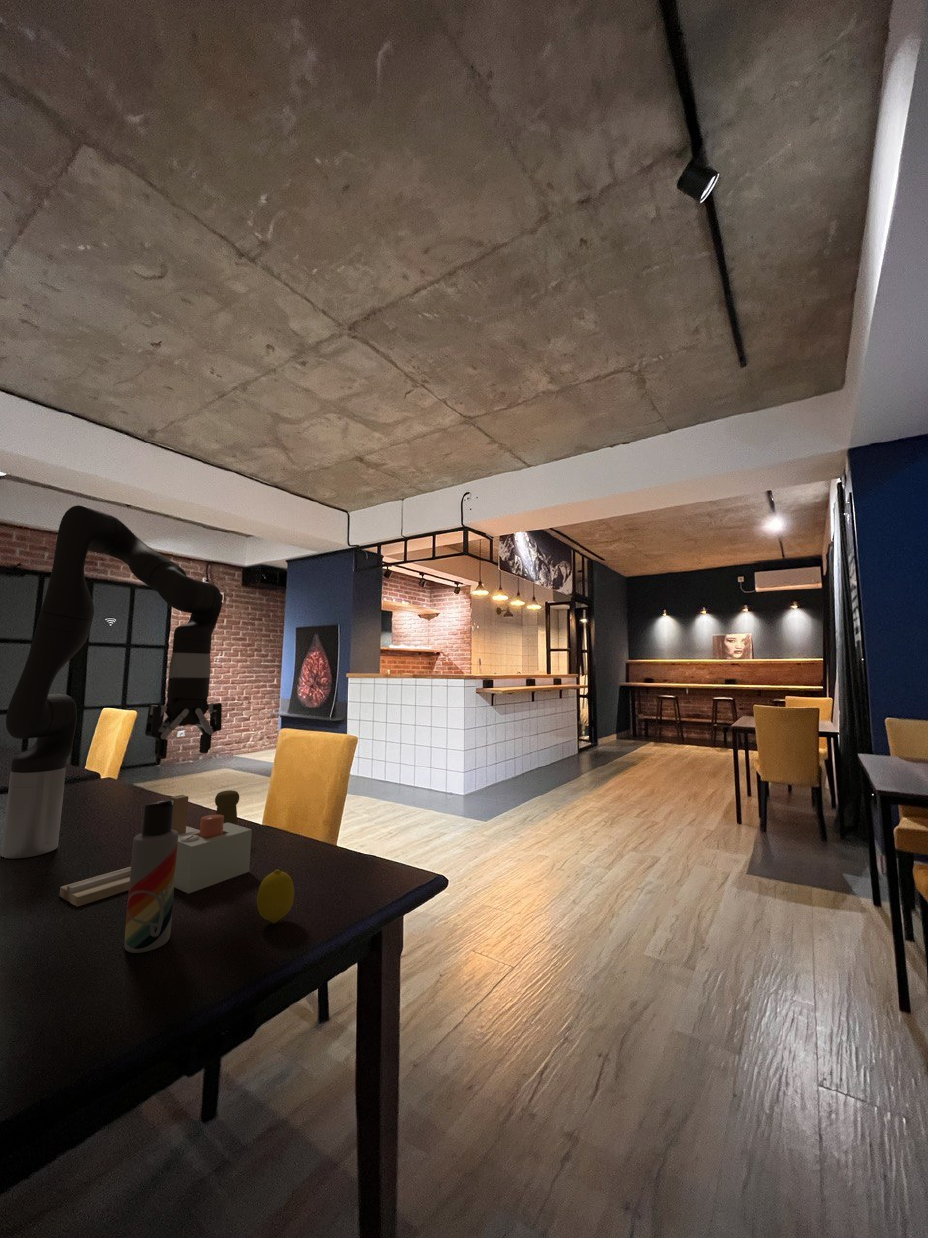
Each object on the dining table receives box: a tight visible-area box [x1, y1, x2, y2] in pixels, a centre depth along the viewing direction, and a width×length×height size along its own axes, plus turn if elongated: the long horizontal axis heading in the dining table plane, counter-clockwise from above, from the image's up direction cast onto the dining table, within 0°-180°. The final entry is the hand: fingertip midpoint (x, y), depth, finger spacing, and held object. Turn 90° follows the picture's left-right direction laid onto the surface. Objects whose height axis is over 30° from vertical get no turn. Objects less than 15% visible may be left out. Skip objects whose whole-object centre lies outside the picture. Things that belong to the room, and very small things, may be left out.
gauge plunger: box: [199, 814, 224, 839], centre depth 96 cm, size 4×4×6 cm
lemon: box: [256, 869, 295, 924], centre depth 79 cm, size 6×6×8 cm
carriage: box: [169, 794, 198, 835], centre depth 100 cm, size 6×7×11 cm
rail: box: [58, 866, 131, 907], centre depth 95 cm, size 7×25×4 cm, turn 148°
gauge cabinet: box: [174, 823, 253, 895], centre depth 96 cm, size 8×12×8 cm, turn 148°
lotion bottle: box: [123, 799, 178, 954], centre depth 73 cm, size 6×6×20 cm
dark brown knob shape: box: [214, 789, 240, 826], centre depth 116 cm, size 6×6×11 cm
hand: (183, 755), depth 101 cm, fingers open, 8 cm apart
